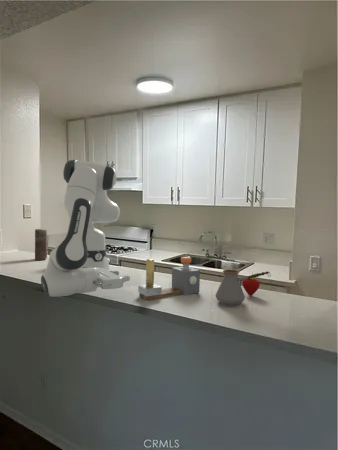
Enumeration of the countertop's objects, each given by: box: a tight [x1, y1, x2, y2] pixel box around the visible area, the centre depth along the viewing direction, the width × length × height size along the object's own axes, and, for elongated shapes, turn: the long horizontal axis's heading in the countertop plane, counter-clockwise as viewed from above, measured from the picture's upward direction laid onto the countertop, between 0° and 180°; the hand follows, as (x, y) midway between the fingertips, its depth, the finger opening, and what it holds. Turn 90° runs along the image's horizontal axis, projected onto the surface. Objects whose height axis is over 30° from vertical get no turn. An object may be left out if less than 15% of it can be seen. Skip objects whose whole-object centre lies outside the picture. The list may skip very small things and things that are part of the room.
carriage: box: [137, 258, 163, 297], centre depth 129 cm, size 7×7×14 cm
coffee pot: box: [215, 269, 272, 307], centre depth 121 cm, size 21×12×15 cm, turn 53°
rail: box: [138, 287, 183, 301], centre depth 132 cm, size 6×18×2 cm, turn 124°
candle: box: [34, 228, 48, 261], centre depth 205 cm, size 8×7×20 cm
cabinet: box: [171, 265, 201, 296], centre depth 139 cm, size 11×8×10 cm
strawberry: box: [241, 272, 261, 297], centre depth 134 cm, size 6×8×10 cm
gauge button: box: [180, 256, 192, 270], centre depth 139 cm, size 5×5×11 cm
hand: (123, 275), depth 122 cm, fingers open, 8 cm apart
